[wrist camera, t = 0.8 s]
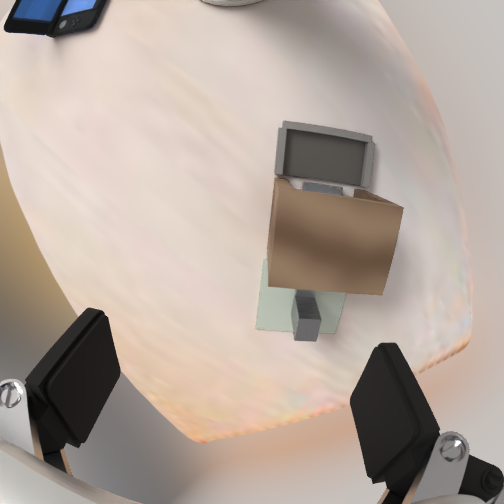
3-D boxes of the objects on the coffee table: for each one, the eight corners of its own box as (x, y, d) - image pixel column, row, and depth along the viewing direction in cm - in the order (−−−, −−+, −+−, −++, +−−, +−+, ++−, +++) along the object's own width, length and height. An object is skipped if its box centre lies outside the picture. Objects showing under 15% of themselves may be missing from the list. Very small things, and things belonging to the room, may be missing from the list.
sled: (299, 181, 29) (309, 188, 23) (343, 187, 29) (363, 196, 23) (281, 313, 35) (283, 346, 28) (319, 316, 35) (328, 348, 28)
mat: (263, 258, 33) (263, 259, 33) (351, 267, 33) (352, 267, 32) (255, 327, 36) (255, 328, 36) (334, 333, 36) (334, 333, 36)
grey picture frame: (279, 121, 27) (279, 120, 26) (371, 137, 27) (375, 136, 26) (274, 173, 29) (274, 174, 28) (365, 186, 29) (369, 187, 28)
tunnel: (274, 177, 29) (279, 189, 20) (364, 190, 29) (403, 207, 20) (267, 246, 32) (267, 286, 23) (352, 255, 32) (382, 295, 23)
